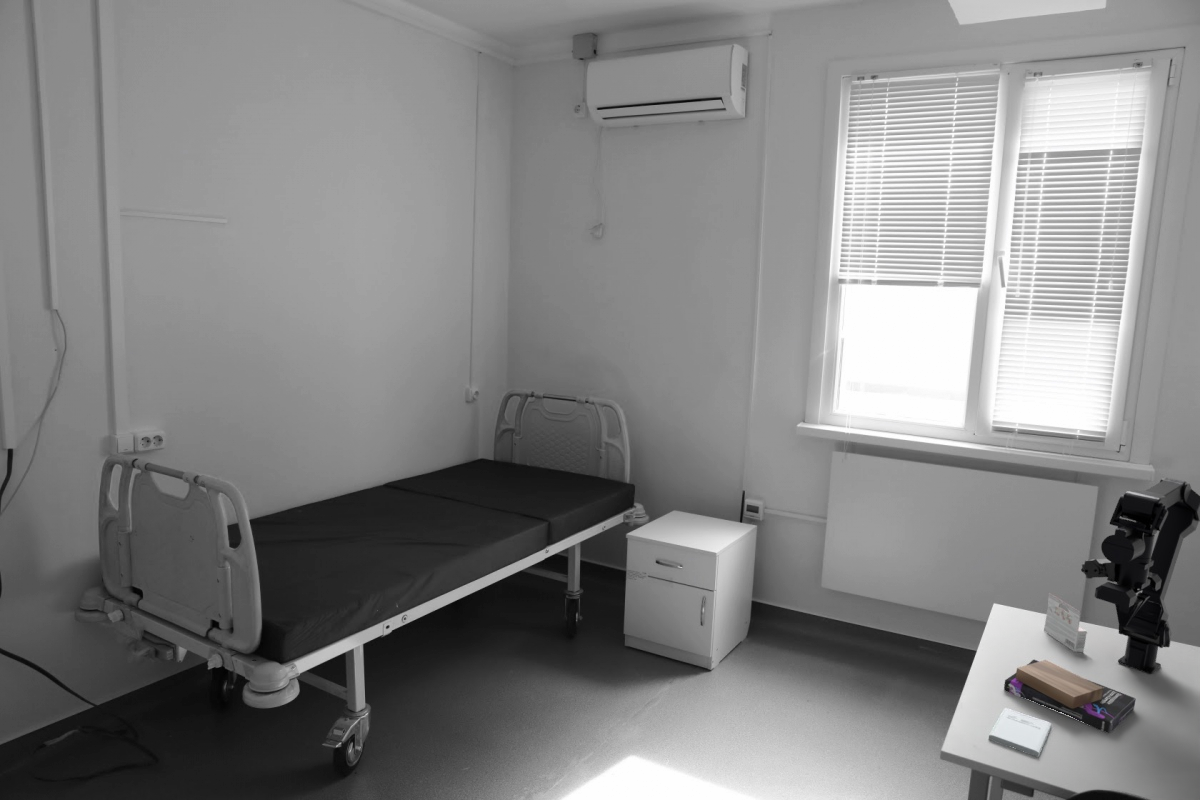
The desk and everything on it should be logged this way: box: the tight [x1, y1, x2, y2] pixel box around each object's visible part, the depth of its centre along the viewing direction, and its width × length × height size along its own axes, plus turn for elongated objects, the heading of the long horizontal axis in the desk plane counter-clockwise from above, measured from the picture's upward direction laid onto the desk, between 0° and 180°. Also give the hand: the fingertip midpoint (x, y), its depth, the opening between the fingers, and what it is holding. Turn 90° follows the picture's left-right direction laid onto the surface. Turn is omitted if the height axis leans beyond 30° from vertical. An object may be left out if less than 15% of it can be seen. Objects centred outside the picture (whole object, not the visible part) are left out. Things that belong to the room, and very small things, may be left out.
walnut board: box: [1015, 659, 1103, 709], centre depth 162 cm, size 2×12×9 cm
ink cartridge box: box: [1043, 592, 1088, 653], centre depth 190 cm, size 2×11×10 cm, turn 7°
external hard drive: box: [988, 707, 1052, 758], centre depth 151 cm, size 2×8×12 cm
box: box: [1003, 659, 1137, 734], centre depth 163 cm, size 14×4×20 cm
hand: (1122, 626), depth 169 cm, fingers closed
